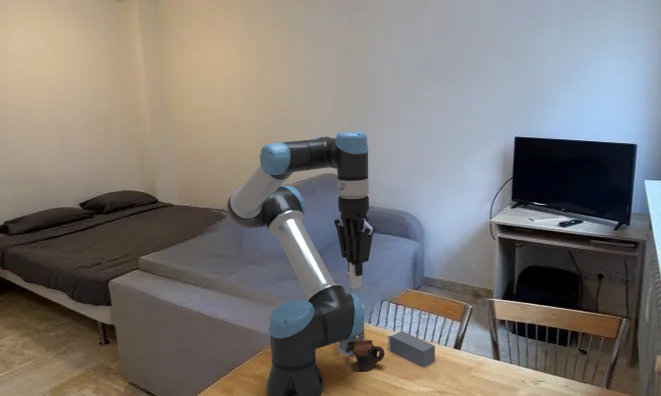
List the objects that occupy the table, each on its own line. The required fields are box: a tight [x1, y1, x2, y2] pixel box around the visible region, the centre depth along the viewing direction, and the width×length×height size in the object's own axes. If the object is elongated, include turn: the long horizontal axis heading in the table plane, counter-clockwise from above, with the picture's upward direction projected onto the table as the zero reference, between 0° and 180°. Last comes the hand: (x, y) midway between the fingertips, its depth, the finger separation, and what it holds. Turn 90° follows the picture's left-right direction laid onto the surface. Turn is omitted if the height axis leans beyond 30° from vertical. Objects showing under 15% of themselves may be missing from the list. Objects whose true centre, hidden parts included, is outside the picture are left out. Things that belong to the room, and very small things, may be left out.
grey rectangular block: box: [387, 329, 436, 368], centre depth 158 cm, size 5×5×14 cm
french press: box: [336, 271, 366, 357], centre depth 162 cm, size 10×12×25 cm
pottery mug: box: [345, 339, 386, 371], centre depth 155 cm, size 12×10×8 cm
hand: (355, 286), depth 135 cm, fingers closed
